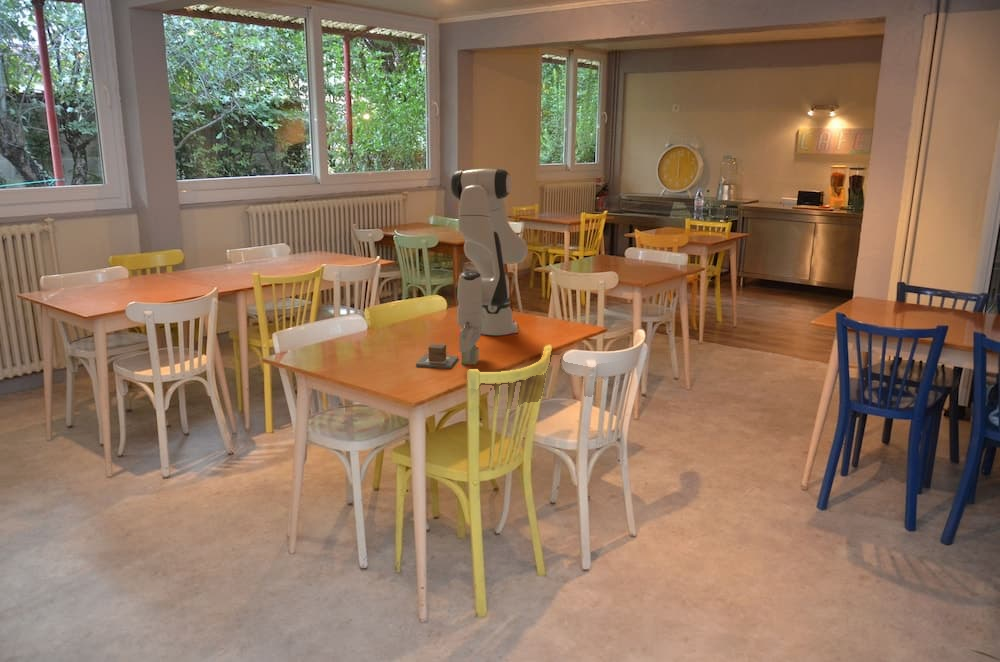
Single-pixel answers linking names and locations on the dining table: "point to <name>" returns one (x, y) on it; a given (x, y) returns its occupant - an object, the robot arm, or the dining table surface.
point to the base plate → (445, 364)
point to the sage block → (472, 356)
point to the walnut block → (437, 352)
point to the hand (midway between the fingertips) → (470, 357)
